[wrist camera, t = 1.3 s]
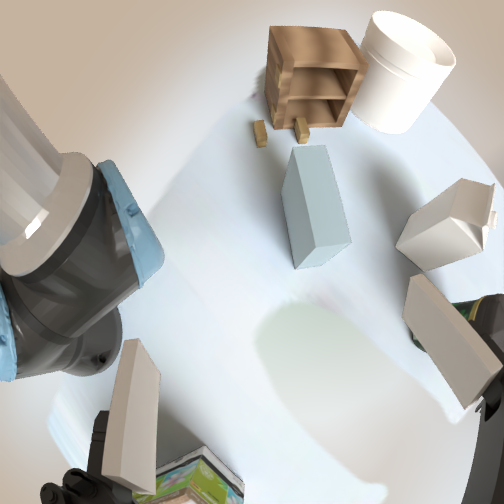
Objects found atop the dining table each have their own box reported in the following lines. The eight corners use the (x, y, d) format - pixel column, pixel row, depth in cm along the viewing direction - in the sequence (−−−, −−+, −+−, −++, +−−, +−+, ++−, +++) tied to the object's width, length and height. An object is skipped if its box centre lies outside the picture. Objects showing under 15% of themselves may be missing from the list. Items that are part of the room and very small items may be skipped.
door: (294, 269, 41) (315, 247, 28) (280, 193, 44) (292, 147, 31) (321, 265, 41) (351, 242, 29) (305, 191, 44) (325, 145, 31)
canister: (423, 120, 49) (468, 62, 29) (382, 145, 47) (431, 73, 27) (375, 72, 52) (403, 10, 32) (327, 89, 50) (352, 12, 30)
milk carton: (394, 247, 42) (468, 204, 24) (409, 215, 43) (477, 164, 25) (423, 272, 41) (504, 243, 23) (437, 239, 43) (511, 201, 24)
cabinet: (257, 147, 46) (261, 78, 30) (246, 92, 49) (246, 27, 33) (347, 141, 46) (378, 81, 31) (326, 89, 49) (345, 30, 34)
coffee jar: (457, 317, 39) (535, 308, 21) (443, 360, 38) (522, 368, 20) (419, 298, 40) (500, 281, 22) (404, 344, 38) (485, 351, 20)
